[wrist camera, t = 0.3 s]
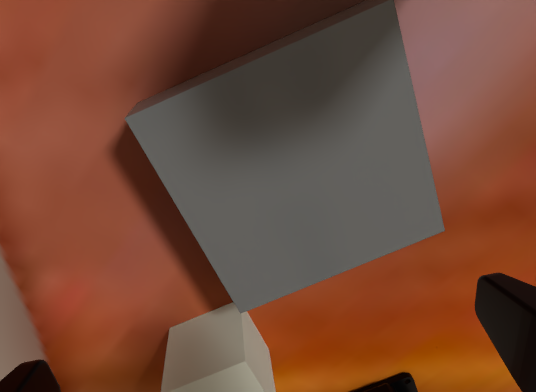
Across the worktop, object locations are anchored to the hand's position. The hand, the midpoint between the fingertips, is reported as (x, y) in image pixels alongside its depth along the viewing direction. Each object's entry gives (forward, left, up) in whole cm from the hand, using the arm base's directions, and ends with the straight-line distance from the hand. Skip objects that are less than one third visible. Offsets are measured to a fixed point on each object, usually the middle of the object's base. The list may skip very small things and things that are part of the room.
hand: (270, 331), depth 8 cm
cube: (-12, +7, -14) cm, 20 cm away
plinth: (-2, -2, -14) cm, 14 cm away
